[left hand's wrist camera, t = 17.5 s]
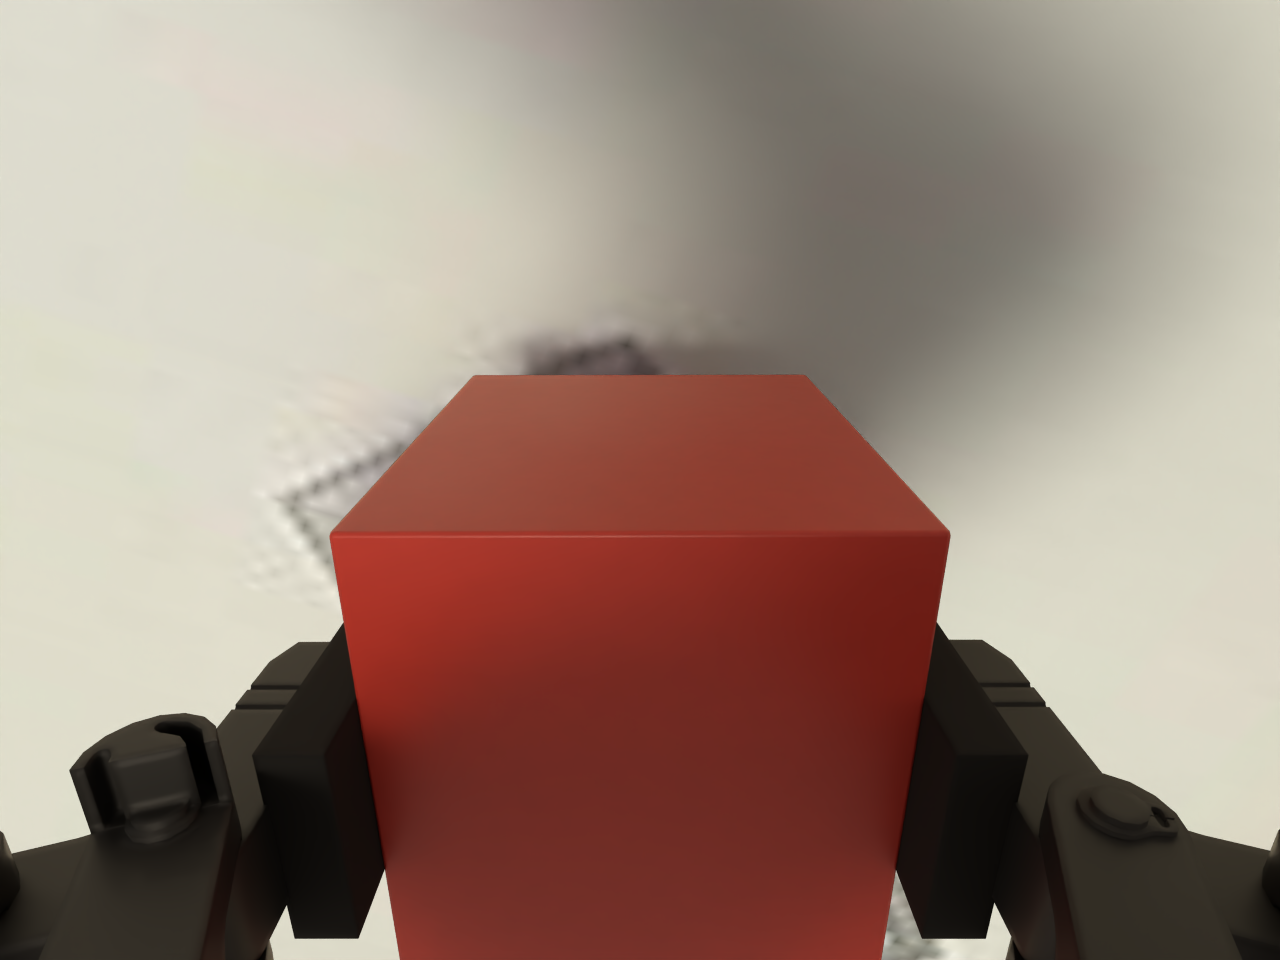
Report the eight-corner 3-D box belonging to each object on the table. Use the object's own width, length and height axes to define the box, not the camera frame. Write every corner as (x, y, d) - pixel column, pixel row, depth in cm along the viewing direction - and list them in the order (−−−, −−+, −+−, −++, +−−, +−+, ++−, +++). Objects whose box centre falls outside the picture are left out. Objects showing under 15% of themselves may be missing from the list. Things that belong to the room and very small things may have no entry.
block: (497, 676, 17) (404, 996, 10) (473, 374, 15) (325, 532, 8) (782, 675, 17) (878, 995, 10) (806, 373, 15) (953, 531, 8)
